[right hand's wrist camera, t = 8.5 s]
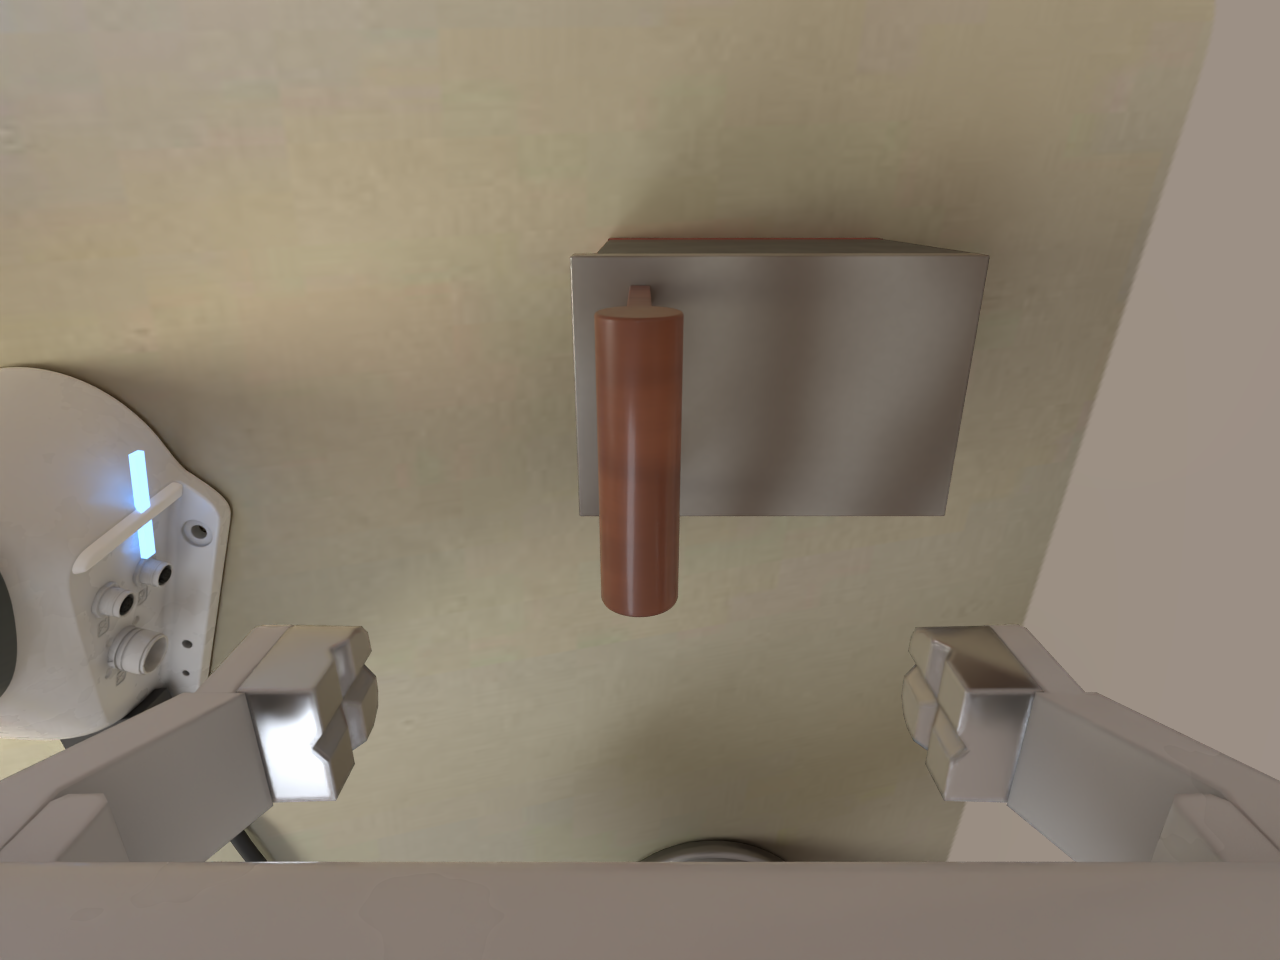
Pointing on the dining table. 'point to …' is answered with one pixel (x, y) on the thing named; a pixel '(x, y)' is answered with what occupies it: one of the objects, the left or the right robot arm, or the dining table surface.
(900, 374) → the lid
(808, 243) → the chest
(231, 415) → the dining table surface
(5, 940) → the right robot arm
